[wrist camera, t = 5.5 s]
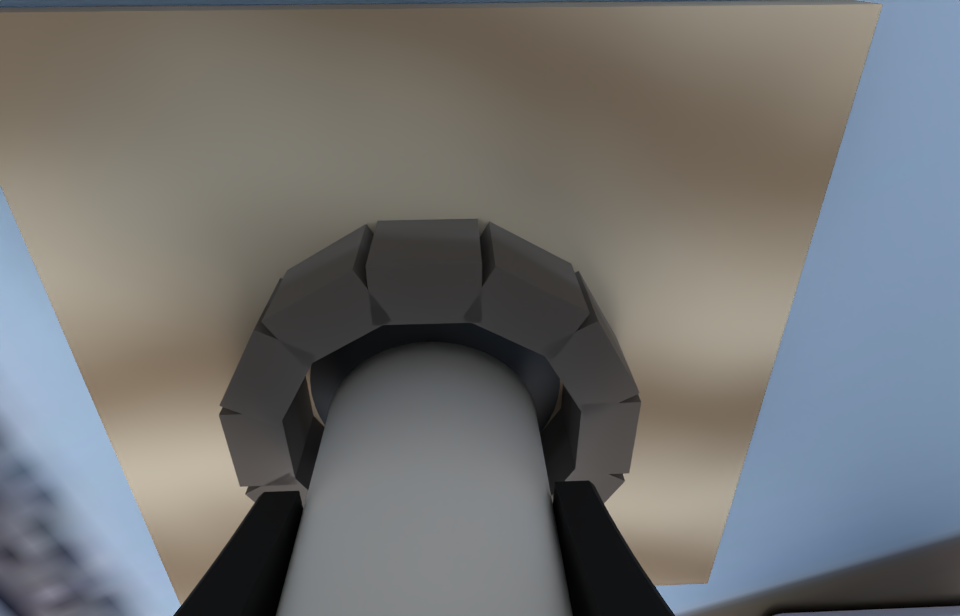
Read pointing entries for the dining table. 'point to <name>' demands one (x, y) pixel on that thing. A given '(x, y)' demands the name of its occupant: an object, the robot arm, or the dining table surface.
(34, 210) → the tan square tray
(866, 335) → the dining table surface
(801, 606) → the dining table surface
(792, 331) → the dining table surface
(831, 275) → the dining table surface
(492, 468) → the grey capped cylinder
